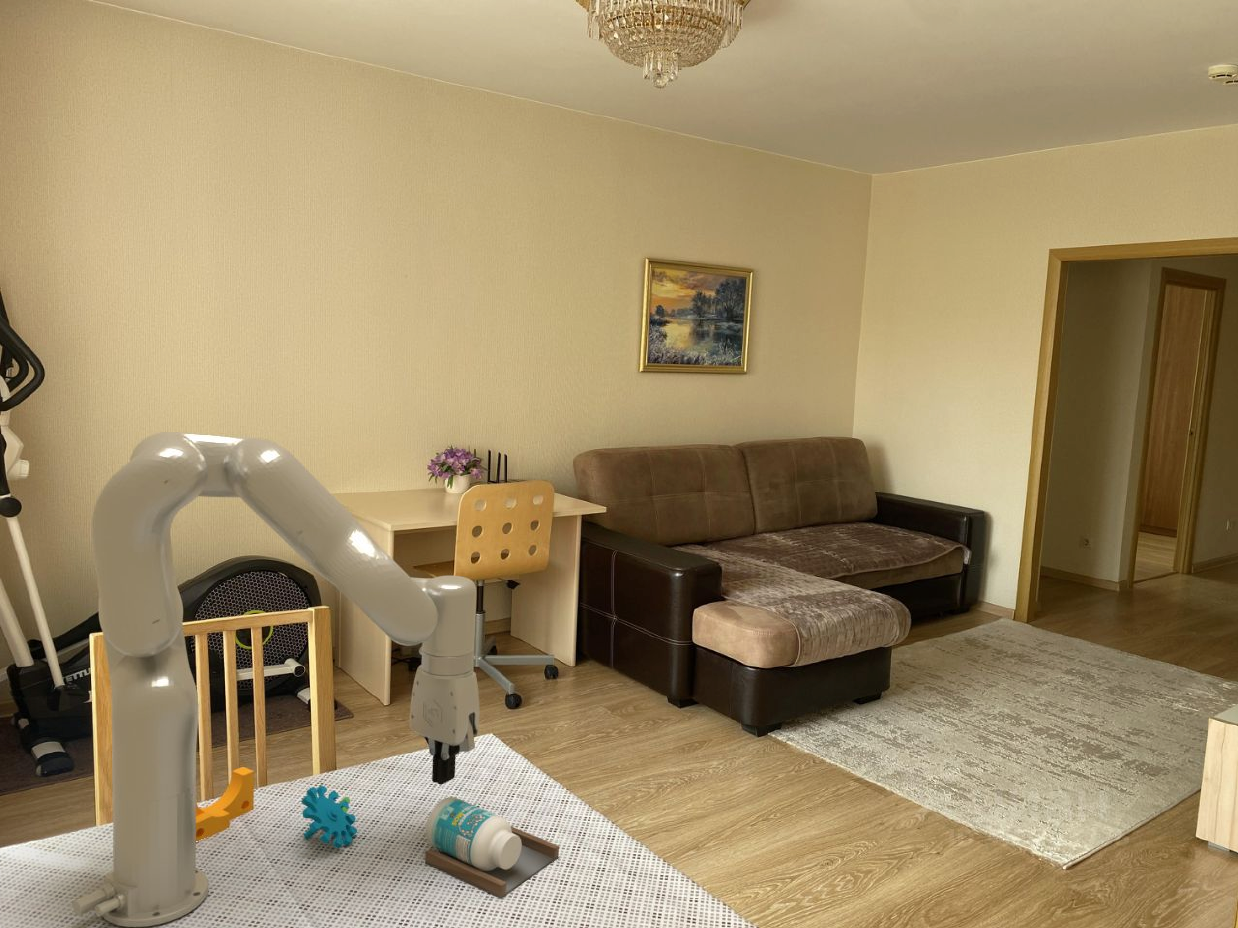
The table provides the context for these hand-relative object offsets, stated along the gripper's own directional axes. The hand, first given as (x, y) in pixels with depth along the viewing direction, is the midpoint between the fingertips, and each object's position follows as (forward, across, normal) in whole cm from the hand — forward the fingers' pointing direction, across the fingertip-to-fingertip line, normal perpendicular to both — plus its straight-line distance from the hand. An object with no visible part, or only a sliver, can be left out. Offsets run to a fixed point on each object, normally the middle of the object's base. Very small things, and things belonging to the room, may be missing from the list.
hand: (443, 779), depth 138 cm
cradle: (+9, +10, 0) cm, 14 cm away
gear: (+9, -13, -10) cm, 19 cm away
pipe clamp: (+10, -29, -18) cm, 35 cm away
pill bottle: (+5, +1, -2) cm, 6 cm away
